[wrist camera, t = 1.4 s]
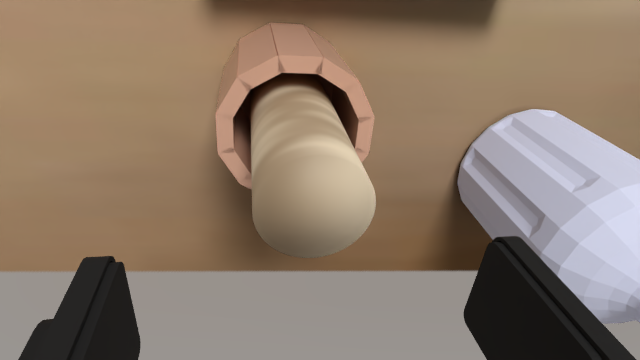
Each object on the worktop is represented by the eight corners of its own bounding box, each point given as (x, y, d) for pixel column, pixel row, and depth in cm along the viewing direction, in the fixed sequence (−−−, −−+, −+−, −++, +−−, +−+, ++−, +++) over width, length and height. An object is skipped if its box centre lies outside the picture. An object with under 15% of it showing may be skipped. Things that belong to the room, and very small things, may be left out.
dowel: (322, 55, 22) (385, 155, 12) (317, 122, 24) (367, 255, 14) (249, 52, 22) (251, 155, 12) (250, 121, 24) (252, 260, 14)
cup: (348, 26, 23) (383, 59, 17) (336, 138, 26) (361, 198, 20) (221, 19, 21) (211, 52, 15) (226, 137, 25) (220, 201, 19)
